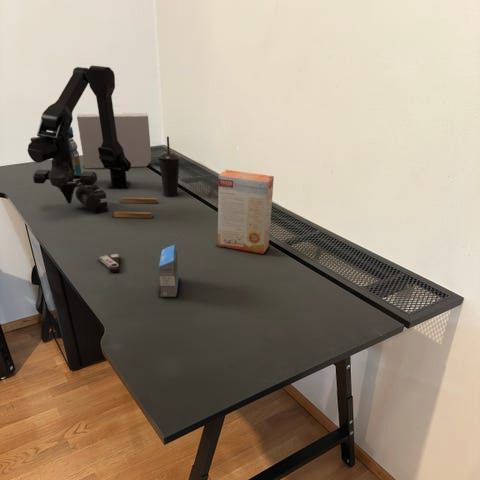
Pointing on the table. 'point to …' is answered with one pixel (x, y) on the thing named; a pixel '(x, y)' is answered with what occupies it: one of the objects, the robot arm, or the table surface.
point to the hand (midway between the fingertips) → (69, 203)
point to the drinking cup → (169, 171)
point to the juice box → (169, 271)
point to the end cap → (92, 198)
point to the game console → (128, 135)
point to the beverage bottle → (74, 154)
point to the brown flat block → (136, 214)
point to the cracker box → (244, 210)
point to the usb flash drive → (111, 262)
